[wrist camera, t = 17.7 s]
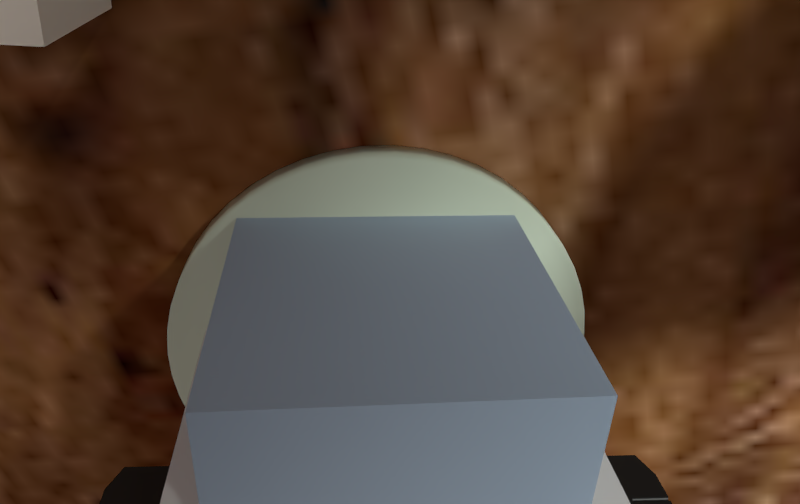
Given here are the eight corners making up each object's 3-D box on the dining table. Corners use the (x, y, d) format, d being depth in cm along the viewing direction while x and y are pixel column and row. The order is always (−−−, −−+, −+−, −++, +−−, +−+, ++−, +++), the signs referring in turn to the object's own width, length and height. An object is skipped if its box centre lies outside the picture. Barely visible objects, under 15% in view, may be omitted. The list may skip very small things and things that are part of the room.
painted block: (236, 218, 14) (184, 413, 9) (514, 214, 15) (617, 395, 10) (263, 514, 19) (238, 762, 13) (478, 502, 19) (535, 735, 14)
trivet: (154, 135, 14) (145, 148, 13) (613, 154, 15) (627, 167, 15) (189, 480, 19) (183, 504, 18) (537, 474, 20) (545, 496, 19)
